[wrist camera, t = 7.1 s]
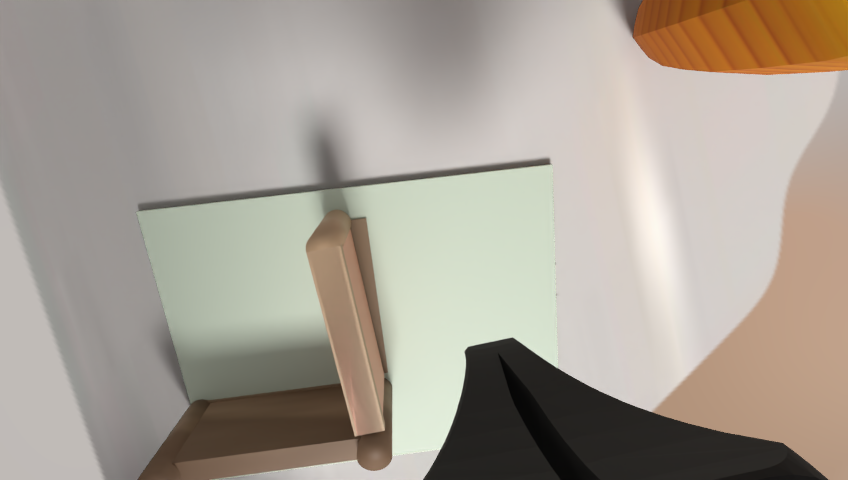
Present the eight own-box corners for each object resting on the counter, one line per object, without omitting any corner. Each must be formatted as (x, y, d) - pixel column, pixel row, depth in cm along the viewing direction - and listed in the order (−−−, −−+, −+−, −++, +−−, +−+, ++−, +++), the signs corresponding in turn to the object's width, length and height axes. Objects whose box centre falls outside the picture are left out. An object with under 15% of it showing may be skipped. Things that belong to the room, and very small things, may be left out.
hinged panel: (347, 207, 19) (336, 229, 15) (386, 374, 21) (384, 430, 17) (320, 212, 19) (301, 236, 15) (361, 379, 21) (354, 436, 17)
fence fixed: (394, 399, 22) (394, 468, 18) (192, 426, 22) (142, 502, 17) (390, 374, 22) (389, 438, 17) (185, 401, 21) (132, 473, 17)
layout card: (557, 429, 24) (560, 434, 23) (214, 476, 23) (211, 482, 22) (550, 164, 20) (553, 165, 19) (139, 210, 19) (134, 212, 19)
